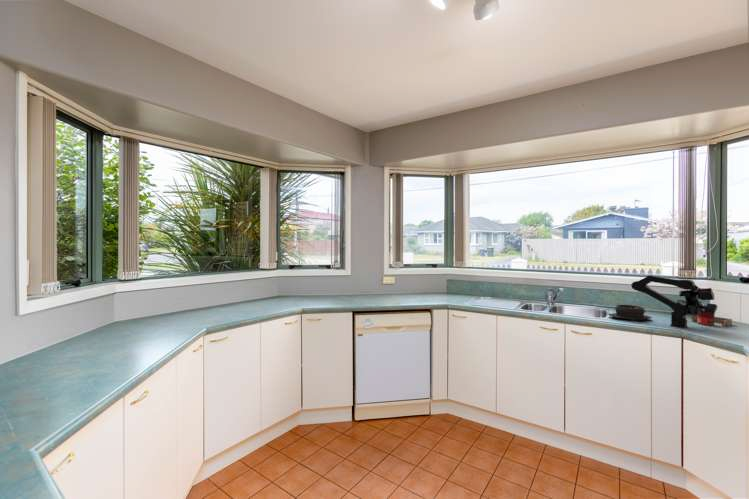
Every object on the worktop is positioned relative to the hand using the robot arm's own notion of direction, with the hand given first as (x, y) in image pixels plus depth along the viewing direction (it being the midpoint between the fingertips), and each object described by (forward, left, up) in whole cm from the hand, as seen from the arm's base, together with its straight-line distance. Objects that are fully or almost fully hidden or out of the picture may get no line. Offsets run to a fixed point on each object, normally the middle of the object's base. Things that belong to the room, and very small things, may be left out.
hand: (699, 315), depth 216 cm
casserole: (-30, -18, -7) cm, 36 cm away
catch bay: (0, +15, -7) cm, 17 cm away
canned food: (0, +8, -7) cm, 11 cm away
